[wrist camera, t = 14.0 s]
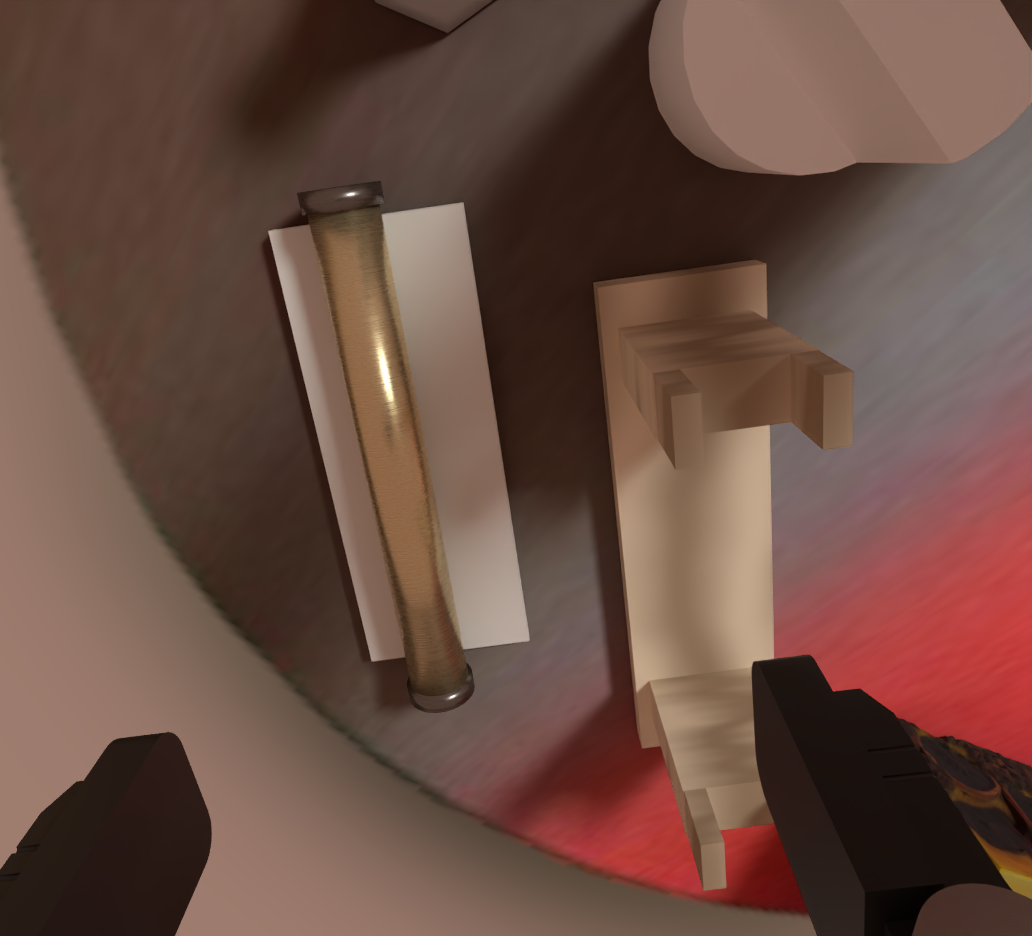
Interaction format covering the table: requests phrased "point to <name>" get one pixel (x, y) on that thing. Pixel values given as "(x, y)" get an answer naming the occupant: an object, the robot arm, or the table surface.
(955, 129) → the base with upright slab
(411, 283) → the grey mat
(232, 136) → the table surface
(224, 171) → the table surface
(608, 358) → the rail stand
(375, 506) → the brass rail
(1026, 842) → the yellow cube with hole
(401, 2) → the flask
